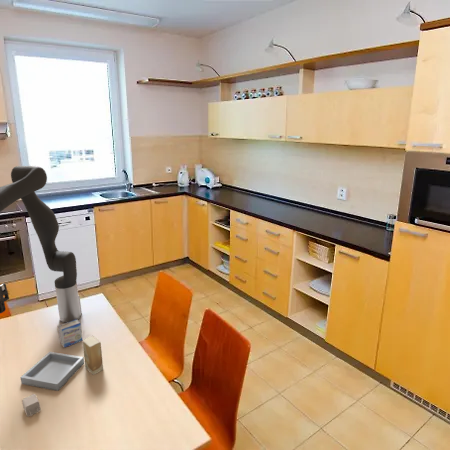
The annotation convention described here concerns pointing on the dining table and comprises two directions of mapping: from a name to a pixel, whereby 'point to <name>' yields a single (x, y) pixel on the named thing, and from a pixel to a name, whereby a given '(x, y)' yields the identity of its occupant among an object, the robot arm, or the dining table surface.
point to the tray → (52, 371)
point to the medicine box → (70, 333)
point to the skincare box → (92, 354)
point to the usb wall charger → (31, 405)
